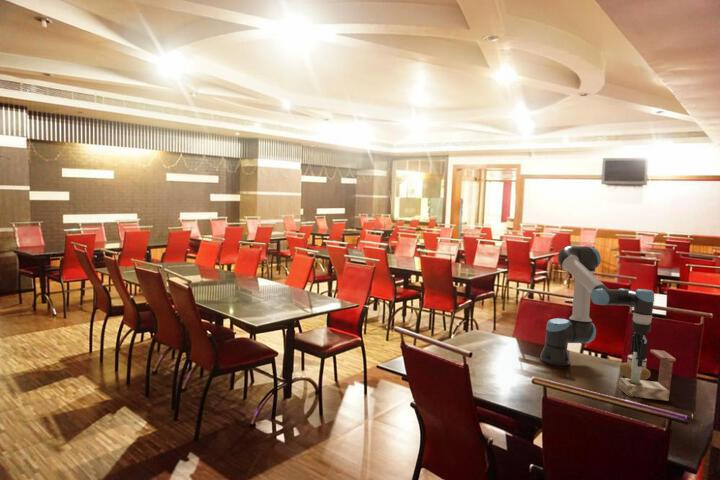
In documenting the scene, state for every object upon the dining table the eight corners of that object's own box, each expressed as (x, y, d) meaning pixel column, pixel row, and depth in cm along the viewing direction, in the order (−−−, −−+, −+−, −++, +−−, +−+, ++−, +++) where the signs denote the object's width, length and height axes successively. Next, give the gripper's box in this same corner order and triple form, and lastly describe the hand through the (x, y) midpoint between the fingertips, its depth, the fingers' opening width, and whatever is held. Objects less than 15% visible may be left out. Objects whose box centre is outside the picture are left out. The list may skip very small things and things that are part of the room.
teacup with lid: (642, 379, 246) (645, 357, 245) (623, 373, 252) (625, 352, 251) (649, 373, 254) (651, 352, 253) (630, 368, 260) (632, 348, 259)
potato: (647, 386, 235) (649, 371, 234) (616, 378, 244) (618, 363, 243) (651, 381, 242) (653, 366, 241) (621, 374, 251) (622, 359, 251)
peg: (632, 382, 224) (635, 353, 222) (629, 379, 227) (632, 351, 226) (640, 383, 223) (644, 354, 222) (637, 380, 227) (640, 352, 226)
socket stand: (626, 396, 221) (631, 354, 219) (617, 386, 232) (622, 346, 231) (670, 401, 217) (675, 358, 216) (659, 391, 229) (664, 350, 227)
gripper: (658, 327, 214) (652, 378, 216) (643, 319, 230) (637, 366, 232) (640, 326, 215) (634, 376, 217) (626, 317, 232) (621, 364, 234)
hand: (636, 371), depth 225 cm, fingers closed on peg, 4 cm apart
